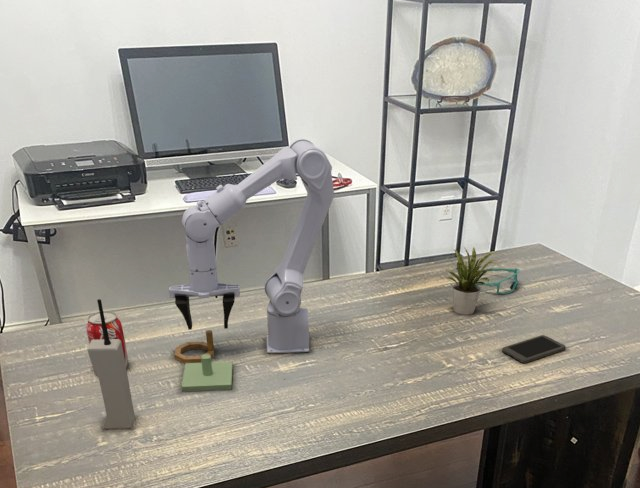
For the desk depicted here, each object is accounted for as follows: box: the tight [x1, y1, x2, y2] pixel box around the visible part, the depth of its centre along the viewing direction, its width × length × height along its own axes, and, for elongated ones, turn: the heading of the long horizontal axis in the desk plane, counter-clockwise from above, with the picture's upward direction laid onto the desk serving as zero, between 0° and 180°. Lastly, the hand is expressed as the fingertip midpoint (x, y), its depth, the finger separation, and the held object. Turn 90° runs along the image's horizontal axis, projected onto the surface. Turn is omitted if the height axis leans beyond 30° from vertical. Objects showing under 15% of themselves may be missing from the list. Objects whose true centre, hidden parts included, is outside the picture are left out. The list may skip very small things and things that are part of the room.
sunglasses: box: [476, 267, 521, 295], centre depth 189 cm, size 14×15×5 cm
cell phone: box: [501, 334, 566, 364], centre depth 156 cm, size 7×14×1 cm, turn 123°
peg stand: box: [180, 353, 234, 392], centre depth 141 cm, size 10×10×5 cm
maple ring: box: [174, 329, 215, 365], centre depth 150 cm, size 8×8×6 cm
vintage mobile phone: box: [86, 298, 136, 430], centre depth 120 cm, size 4×5×25 cm
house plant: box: [444, 247, 500, 316], centre depth 170 cm, size 14×14×16 cm
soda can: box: [85, 310, 129, 368], centre depth 142 cm, size 7×7×12 cm
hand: (208, 327), depth 148 cm, fingers open, 7 cm apart
